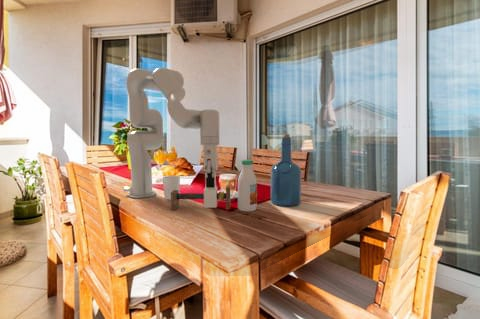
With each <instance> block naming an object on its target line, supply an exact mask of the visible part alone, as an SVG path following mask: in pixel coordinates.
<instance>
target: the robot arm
mask: <svg viewBox="0 0 480 319" xmlns="http://www.w3.org/2000/svg"><path fill="white" fill-rule="evenodd" d="M184 82H185V80H184V77H183V75H182V73H180V72H179V71H177V70H174V69H170V68H166V67H158V68H155V70H153V71H152V70H148V69H146V68H145V69H144V68H133V69H131V70H130V71H129V72H128V74H127V76H126V89H127V96H128V102H129V103H128V106H129V110H128V111H129V122H130V125H131V126H132V127H133V128H136V129H137V128H138V129H147V130H134V131H131V132H130V133H129V134H128V135H127V138H126V143H127V147H128V151H129V152H128V153H129V160H130V161H129V162H130V176H131V177H130V178H131V180H130V181H131V186H124V187H123V192H129V193H128V197H129V198H133V199H134V198H135V199H143V198H150V197H154V196H156V194H157V193H156V190H153V170H152V158H151V156H150V154H149V152H148V151H152V150H153V151H155V150H157V149H160V148H161V147H162V146H163V143H164V124H163V122H164V120H163V117H162V114H161V112H160V111H159V110H157V109H155V108H149V98H148V96H147V93H146V91H145V90H151V91H159V92H161V93H162V95H163V96H164V97H165V98H166V100H167V104H166V107H167V111H168V112H167V113H168V114H169V116H170V118H171V119H172V120H173V122H174V123H175V124H176V125H177V126H179V127H180V128H181V129H195V130H197V129H199V131H200V132H199V133H200V146H203V147H202V148H203V152H202V153H203V170H204V171H206V172H205V173H206V187H214V176H213V173H215V171H217V169H219V168H218V167H219V162H218V161H219V160H218V159H219V156H218V146H220V113H219V111H218V110H217V109H202V110H199V109H187V108H186V107H185V106H184V105H183V104H182V103H181V102H182V101H183V99H184V98H185V96H186V89H185V88H184V87H183V86H184ZM144 89H145V90H144Z"/></svg>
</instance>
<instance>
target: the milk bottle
mask: <svg viewBox="0 0 480 319" xmlns="http://www.w3.org/2000/svg"><path fill="white" fill-rule="evenodd" d="M253 167H254V160H253V159H242V160H241V171H240V173H239V176H238V180H237V210H239V211H241V212H245V213H246V212H255V211H256V210H257V209H258V182H257V181H258V180H257V176H256V174H255V172H254V168H253Z"/></svg>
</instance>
